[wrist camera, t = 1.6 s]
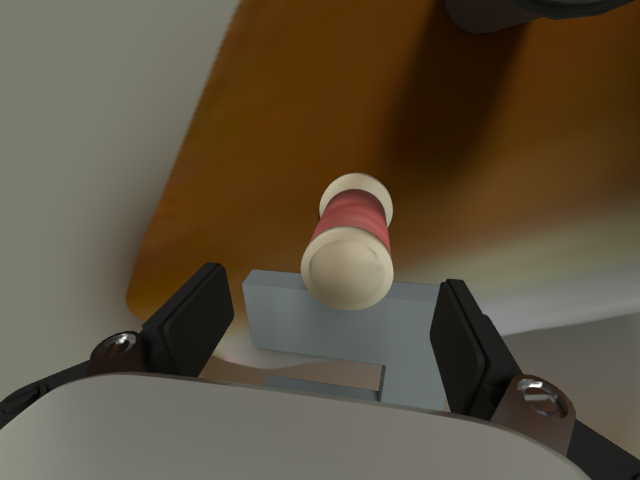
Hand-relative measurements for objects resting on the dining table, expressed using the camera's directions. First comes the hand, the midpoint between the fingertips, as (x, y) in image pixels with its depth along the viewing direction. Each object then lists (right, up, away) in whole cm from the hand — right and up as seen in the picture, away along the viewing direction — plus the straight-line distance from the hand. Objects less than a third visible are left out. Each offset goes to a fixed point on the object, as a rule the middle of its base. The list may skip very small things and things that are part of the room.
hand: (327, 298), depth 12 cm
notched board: (+3, -12, +19) cm, 22 cm away
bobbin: (+3, +5, +10) cm, 12 cm away
